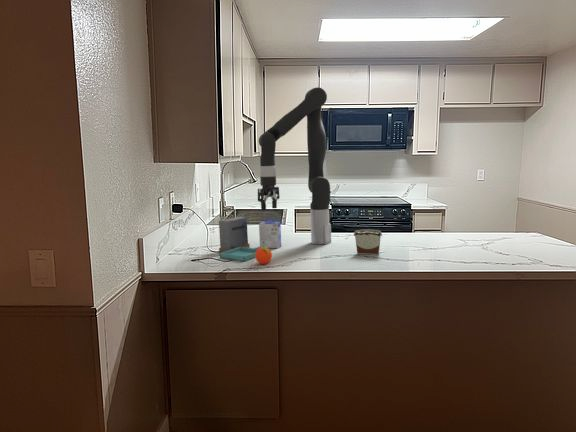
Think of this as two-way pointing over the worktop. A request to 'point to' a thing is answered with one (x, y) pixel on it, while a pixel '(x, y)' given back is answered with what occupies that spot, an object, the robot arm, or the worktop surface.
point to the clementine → (263, 255)
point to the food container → (368, 241)
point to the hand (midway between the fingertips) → (269, 209)
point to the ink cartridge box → (270, 233)
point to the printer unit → (233, 233)
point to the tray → (239, 254)
